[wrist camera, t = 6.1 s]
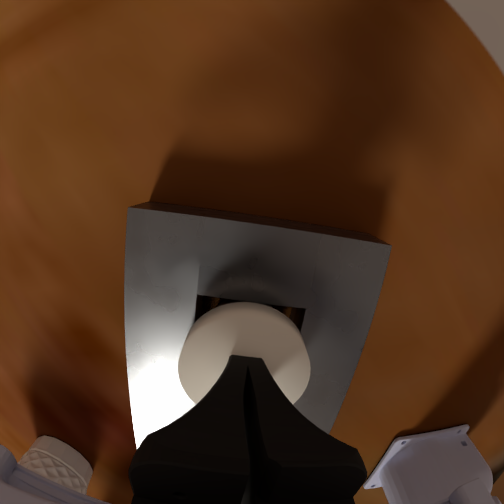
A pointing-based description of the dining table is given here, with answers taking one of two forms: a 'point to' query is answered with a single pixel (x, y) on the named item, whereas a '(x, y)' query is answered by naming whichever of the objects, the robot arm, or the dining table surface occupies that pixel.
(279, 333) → the knob
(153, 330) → the knob mount
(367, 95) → the dining table surface
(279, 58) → the dining table surface
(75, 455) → the white cup
